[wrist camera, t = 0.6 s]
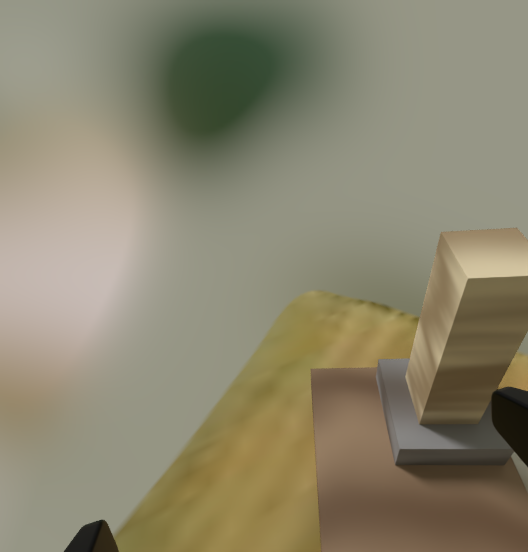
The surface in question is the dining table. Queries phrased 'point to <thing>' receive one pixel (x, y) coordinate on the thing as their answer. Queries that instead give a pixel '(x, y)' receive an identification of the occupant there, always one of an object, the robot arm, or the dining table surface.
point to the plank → (403, 483)
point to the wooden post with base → (459, 352)
